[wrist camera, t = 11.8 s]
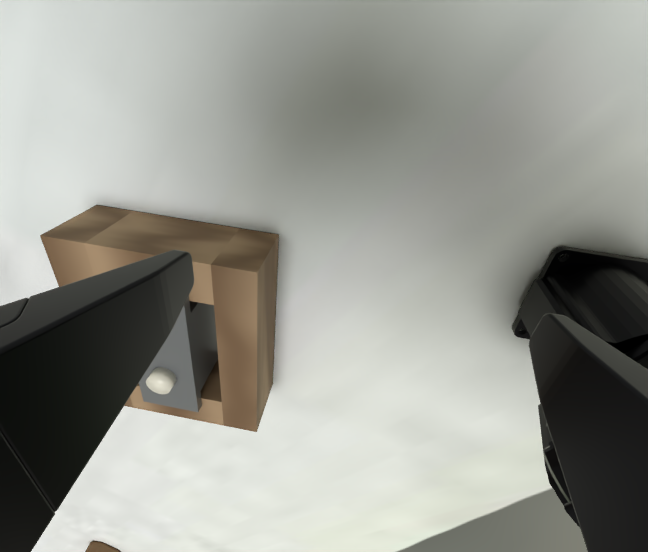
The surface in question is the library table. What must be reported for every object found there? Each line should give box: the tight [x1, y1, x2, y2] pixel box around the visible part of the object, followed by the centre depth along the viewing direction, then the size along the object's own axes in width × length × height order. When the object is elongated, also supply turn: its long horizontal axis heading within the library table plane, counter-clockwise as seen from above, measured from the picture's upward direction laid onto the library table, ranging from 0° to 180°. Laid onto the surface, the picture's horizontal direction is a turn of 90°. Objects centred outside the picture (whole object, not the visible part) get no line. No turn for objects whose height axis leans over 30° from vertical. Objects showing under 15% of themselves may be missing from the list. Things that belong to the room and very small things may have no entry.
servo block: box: [139, 296, 218, 412], centre depth 24 cm, size 4×10×6 cm, turn 173°
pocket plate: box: [40, 205, 279, 432], centre depth 24 cm, size 12×14×4 cm
